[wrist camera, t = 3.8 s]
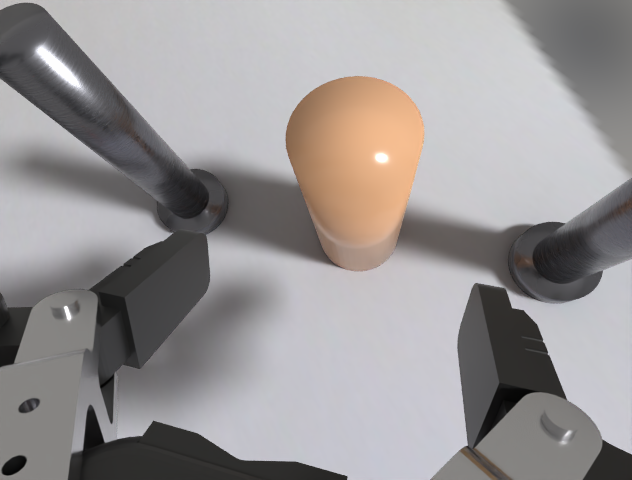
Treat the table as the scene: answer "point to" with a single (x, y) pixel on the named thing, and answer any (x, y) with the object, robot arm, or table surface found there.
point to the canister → (356, 165)
